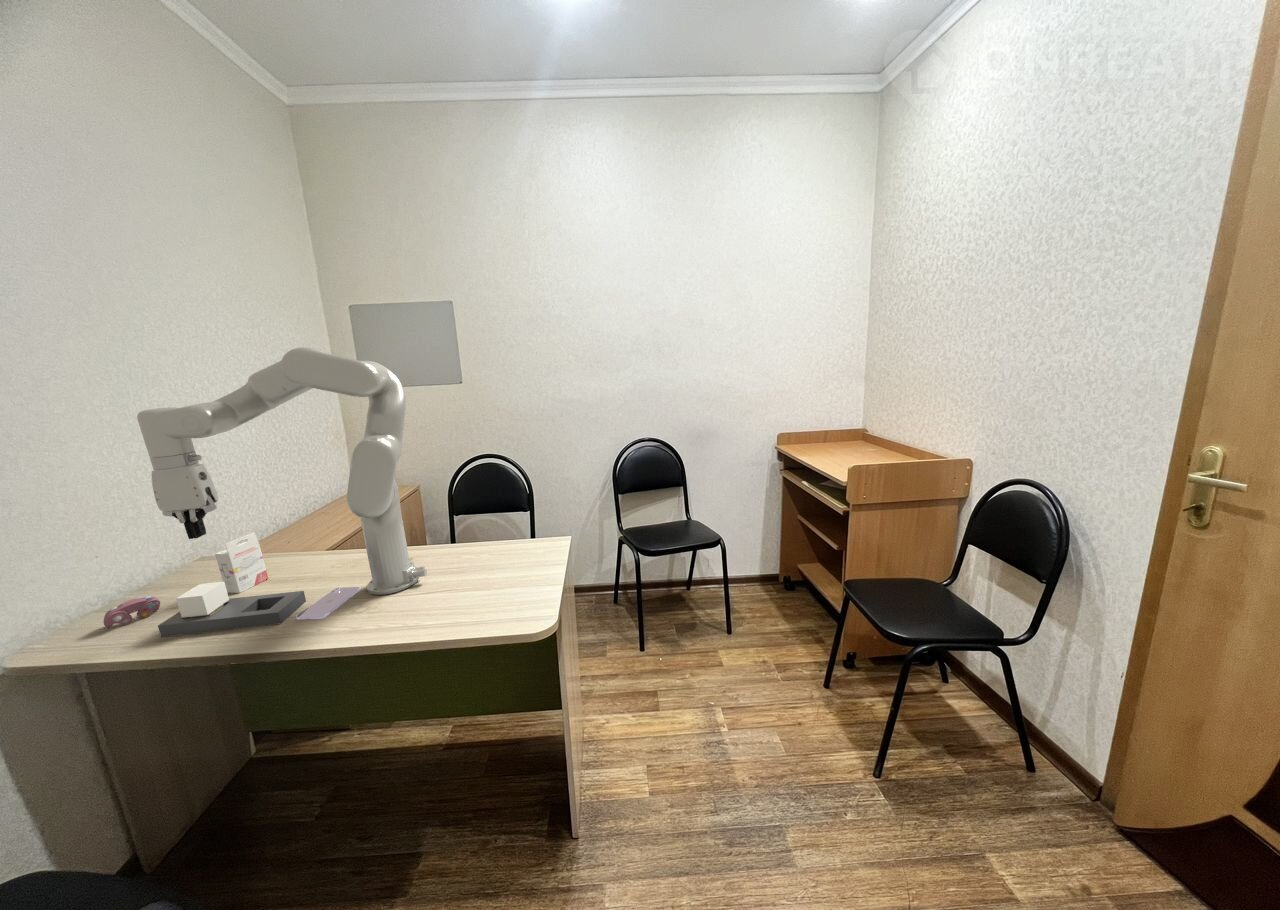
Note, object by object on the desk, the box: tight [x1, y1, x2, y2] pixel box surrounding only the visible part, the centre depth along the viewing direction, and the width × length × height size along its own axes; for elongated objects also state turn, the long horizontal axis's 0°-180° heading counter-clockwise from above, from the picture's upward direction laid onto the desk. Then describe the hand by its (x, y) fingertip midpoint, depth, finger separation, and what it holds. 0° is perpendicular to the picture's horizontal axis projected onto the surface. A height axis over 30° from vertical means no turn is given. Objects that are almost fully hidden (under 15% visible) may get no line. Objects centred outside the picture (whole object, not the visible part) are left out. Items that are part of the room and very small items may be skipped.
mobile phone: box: [295, 586, 361, 621], centre depth 120 cm, size 8×1×15 cm
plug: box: [176, 581, 230, 618], centre depth 113 cm, size 6×7×8 cm
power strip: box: [157, 590, 307, 638], centre depth 115 cm, size 26×10×4 cm, turn 97°
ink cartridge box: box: [214, 532, 269, 594], centre depth 131 cm, size 9×5×15 cm, turn 168°
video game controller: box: [103, 595, 161, 628], centre depth 116 cm, size 10×5×7 cm, turn 149°
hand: (197, 536), depth 111 cm, fingers closed
